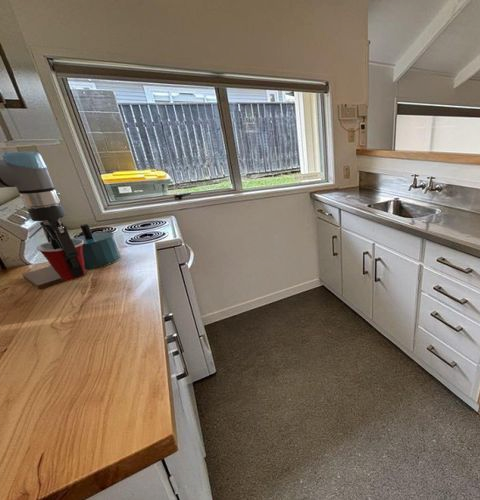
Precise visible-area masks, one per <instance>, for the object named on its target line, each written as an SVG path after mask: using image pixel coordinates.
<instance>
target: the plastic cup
mask: <svg viewBox="0 0 480 500" xmlns="http://www.w3.org/2000/svg"><path fill="white" fill-rule="evenodd" d="M71 240H72V242H73V244H74V246H75V249H76V251H77V253H78V254H79V256H77V258H78V260H79V263H80V265H81V268H82V270H83V272H84V275H82V276H79V277H76V278H73V277H72V274H71V272H70V270H69V267H68V265H67V263H66V261H65V260H63V258H65V256H64V254H63V251H62V250H63V249H60V248H58V249H56V250H54V249H53V247H52V245H51V242H48V241H47V242H44V243H41V244H38V245H37V246H36V250H37V251H39V253H41V254H42V255H43V257H44V258H45V259H46V260H47V262H48V263H49V264H50V266H52V267H53V268H54V270H55V271H56V272H57V273H58V275H59V276H60V277H61V279H63V280H65V281H64V282H67V281H73V280H74V281H75V280H79V279H81V278H83V277H85V275H86V270H85V267H84V265H85V264H84V258H83V251H82V250H83V248H82V247H83V243H84V241H83V240H81V239H73V238H71ZM71 254H72V253H71Z"/></svg>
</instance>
